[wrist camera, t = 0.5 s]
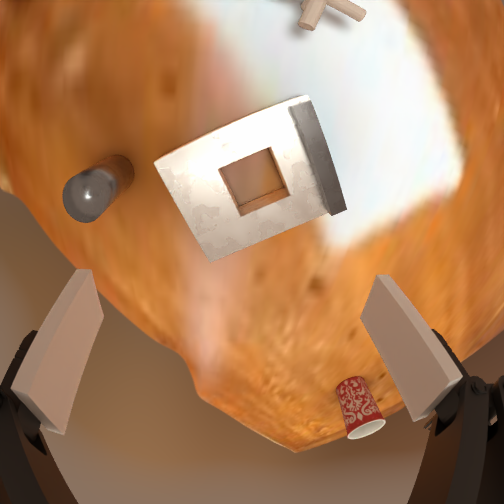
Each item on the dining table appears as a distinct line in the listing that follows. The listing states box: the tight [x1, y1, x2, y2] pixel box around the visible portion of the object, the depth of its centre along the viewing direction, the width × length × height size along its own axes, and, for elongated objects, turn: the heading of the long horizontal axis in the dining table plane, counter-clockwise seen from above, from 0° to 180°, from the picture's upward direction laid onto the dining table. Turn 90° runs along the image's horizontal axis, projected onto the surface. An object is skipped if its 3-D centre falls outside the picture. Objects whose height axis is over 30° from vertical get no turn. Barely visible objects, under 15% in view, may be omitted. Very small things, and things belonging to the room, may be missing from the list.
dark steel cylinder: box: [63, 155, 134, 223], centre depth 27 cm, size 5×5×10 cm
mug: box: [336, 377, 385, 439], centre depth 54 cm, size 13×9×14 cm
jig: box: [153, 95, 347, 263], centre depth 31 cm, size 14×18×6 cm
